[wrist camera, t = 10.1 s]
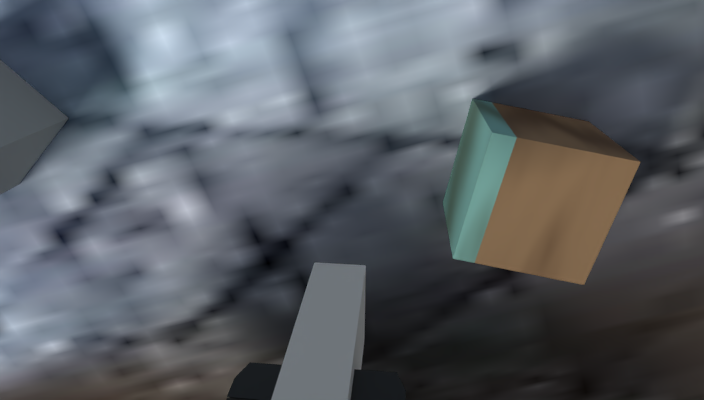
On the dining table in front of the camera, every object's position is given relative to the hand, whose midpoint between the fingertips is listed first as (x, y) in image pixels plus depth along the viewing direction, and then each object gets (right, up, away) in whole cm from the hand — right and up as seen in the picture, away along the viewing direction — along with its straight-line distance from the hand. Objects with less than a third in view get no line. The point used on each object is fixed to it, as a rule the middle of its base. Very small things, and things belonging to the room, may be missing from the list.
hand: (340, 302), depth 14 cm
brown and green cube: (+6, +4, +9) cm, 11 cm away
